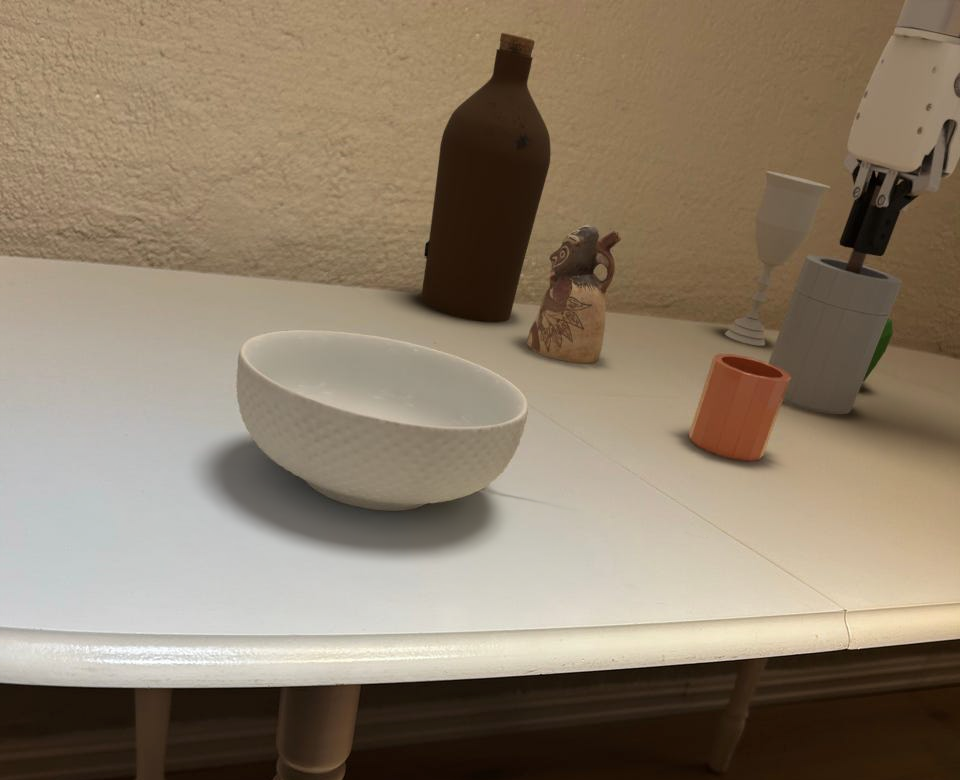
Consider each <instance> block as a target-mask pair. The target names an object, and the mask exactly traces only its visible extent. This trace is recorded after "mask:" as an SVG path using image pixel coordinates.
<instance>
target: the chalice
mask: <svg viewBox="0 0 960 780" xmlns="http://www.w3.org/2000/svg"><path fill="white" fill-rule="evenodd" d="M765 178H766V184H765V188H764V190H763V193H762V197H761V201H760V203H759V206H758V210H757V213H756V216H755V242H756V250H757V258H758V260H759V261H760V262H761V263H762V264H763V271H762V272H761V274H760V276H759V278H758V279H757V280H756V284H757V285H756V291H755V292H754V294H753V295H751V296H750V300H751V305H750V309H749V311H748V313H747V314H745V316H744V317H738V318H737V319H735V320H734V321H733V322H734V323H732V324H731V325H730V327H729V328H728V330H727V331H726V332H724V334H725V336H726V337H728V338H730V339H732V340H735V341H737V342H740V343H744V344H748V345H751V346H752V345H753V346H759V347H760V346H766V342H765V338H766V335H765V327H764V324H763V323H762V322H760V321H759V320H760V318H759V311H760V308H761V307H762V305H763V304H764V303H766V299H765V293H766V291H767V290H768V288H769V287H770V286H772V285H771V274H772V273H773V271H774V269H775V267H781V266H783V265H785V263H787V262H788V260H789V259H790V258H791V257H792V256H793V254H795V253H796V251H797V250H798V249H799V248H800V247H801V245H802V244H803V243H804V241H805V240H806V239H807V237H808V236H809V235H810V234H811V230H812V227H813V225H814V221H815V220H816V216H817V214H818V211H819V208H820V205H821V202H822V199H823V197H824V195H825V194H826V193H827V192H828V191H829V190H830V189H831V186H829V185H826V184H824V183H819V182H817V181H813V180H809V179H806V178H803V177H802V178H801V177H798V176H793V175H789V174H784V173H781V172H775V171H769V170H765Z"/></svg>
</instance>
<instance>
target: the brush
mask: <svg viewBox="0 0 960 780" xmlns="http://www.w3.org/2000/svg"><path fill="white" fill-rule="evenodd" d="M881 187H882V186H880V185H876V187H875V190H874V193H873V195H872V198H871V201H870V203H869V206H870V205H873V206H877V205H876V200H877V197H878V195H879V192H880V190H881ZM869 206H868V208H869ZM867 210H868V209H867ZM866 213H867V212H866ZM865 216H866V214H865ZM864 218H865V217H864ZM863 221H864V220H863ZM862 224H863V222H862ZM861 227H862V225H861ZM860 229H861V228H860ZM859 232H860V231H859ZM858 235H859V233H858ZM857 237H858V236H857ZM856 240H857V239H856ZM855 243H856V241H855ZM854 246H855V244H854ZM867 257H868V254H864V253H859V252H856V251H855V250H854V247H853V248H852V250H851V252H850V255H849V257H848V260H847V261H848V263H847V266H846V269H845V271H849V272H853V273H856V274H860V272H861V269H862V267H863V266H864V264H865V261H866V259H867Z"/></svg>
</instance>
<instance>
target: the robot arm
mask: <svg viewBox="0 0 960 780" xmlns="http://www.w3.org/2000/svg"><path fill="white" fill-rule="evenodd" d="M846 147H847V151H848V153H847V154H846V156H845V158H844V160H843V167H844V168H845V169H846V171H847V172H848V173H849V174H850V175H851V177H852V182H853V188H852V191H851V199H853V200H854V201H853V203H852V206H851V208H850V211H849V214H848V217H847V220H846V223H845V225H844V229H843V231H842V234H841V236H840V239H839V245H840V246H841V247H844V248H847V249H848V248H849V249H853V247H854V250H855V251H856V252H859V253H864V254H867V255H869V256H874V257H875V256H876V257H882V256H884V255H885V253H886V250H887V248H888V245H889V242H890V241H891V237H892V234H893V232H894V229H895V227H896V224H897V221H898V218H899V217H900V214H901V213H904V212H906V211H907V210H908V208H909V206H910V203H911V202H913V201H914V200H915V199H916V198H918V197H920V196H924V195H929V194H934V193H936V192H937V191H939V189H940V186H941V180H944V179H947V178H949V177H950V176H952V175H953V172H954V171H955V169H956V167H957V165H958V163H959V160H960V0H904V3H903V6H902V9H901V10H900V15H899V17H898V20H897V22H896V25H895V28H894V31H893V34H892V35H891V36H890V38H889V40H888V42H887V43H886V45H885V47H884V49H883V50H882V53H881V55H880V57H879V59H878V61H877V63H876V65H875V68H874V70H873V72H872V74H871V76H870V79H869V81H868V83H867V86H866V88H865V91H864V93H863V95H862V98H861V101H860V102H859V106H858V108H857V110H856V114H855V116H854V119H853V123H852V125H851V128H850V132H849V135H848V139H847V145H846ZM876 172H877V174H876ZM900 180H901V181H900ZM899 181H900V182H899ZM876 185H880V186H882V187H881V190H880V192H879V195H878V197H877V200H876V205H877V206H873V205H870V206H869V203H870V201H871V198H872V195H873V193H874V190H875V187H876ZM868 206H869V208H868ZM867 209H868V210H867ZM866 212H867V213H866ZM865 214H866V216H865ZM864 217H865V218H864ZM863 220H864V221H863ZM862 222H863V224H862ZM861 225H862V227H861ZM860 228H861V229H860ZM859 231H860V232H859ZM858 233H859V235H858ZM857 236H858V237H857ZM856 239H857V240H856ZM855 241H856V243H855ZM854 244H855V246H854Z"/></svg>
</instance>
